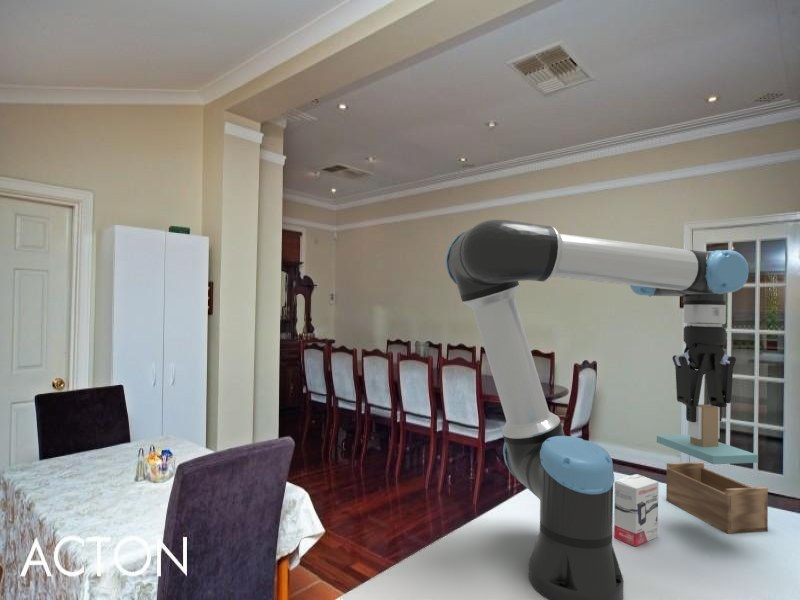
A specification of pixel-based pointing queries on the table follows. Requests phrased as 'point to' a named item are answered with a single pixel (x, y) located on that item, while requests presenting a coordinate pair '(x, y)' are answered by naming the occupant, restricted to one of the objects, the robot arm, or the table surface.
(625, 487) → the ink box
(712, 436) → the lid
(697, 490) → the box
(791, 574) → the table surface
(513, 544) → the table surface
